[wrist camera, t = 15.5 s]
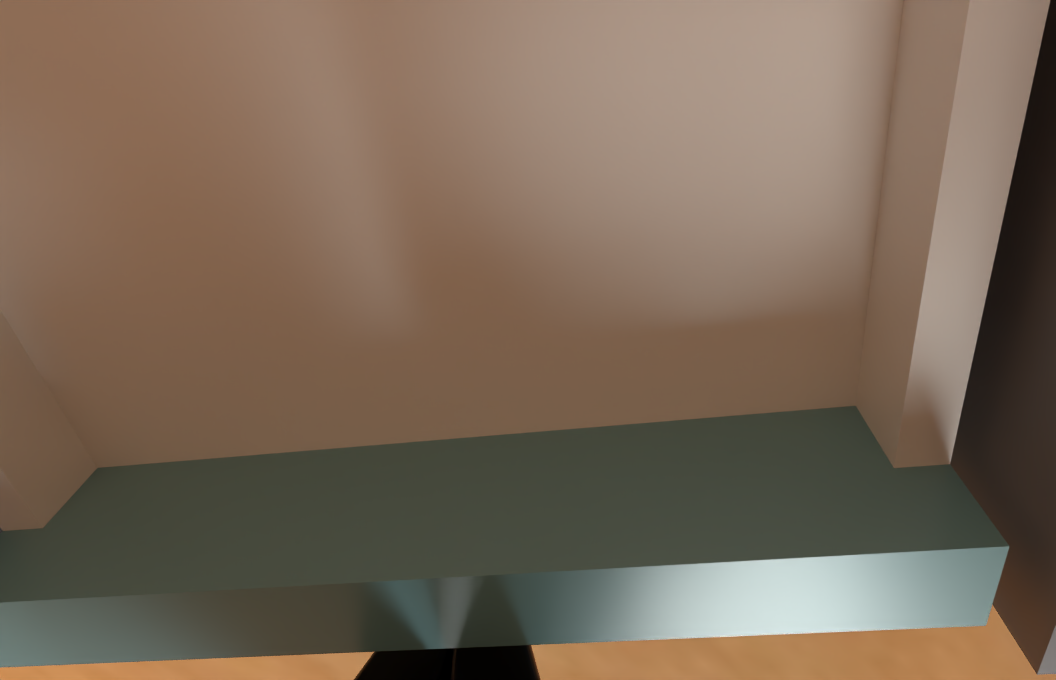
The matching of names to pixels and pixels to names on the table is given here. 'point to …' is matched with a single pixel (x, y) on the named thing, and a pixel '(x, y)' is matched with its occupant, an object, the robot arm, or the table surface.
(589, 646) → the table surface
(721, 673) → the table surface
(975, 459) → the frame
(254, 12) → the tray
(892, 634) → the table surface
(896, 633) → the table surface
